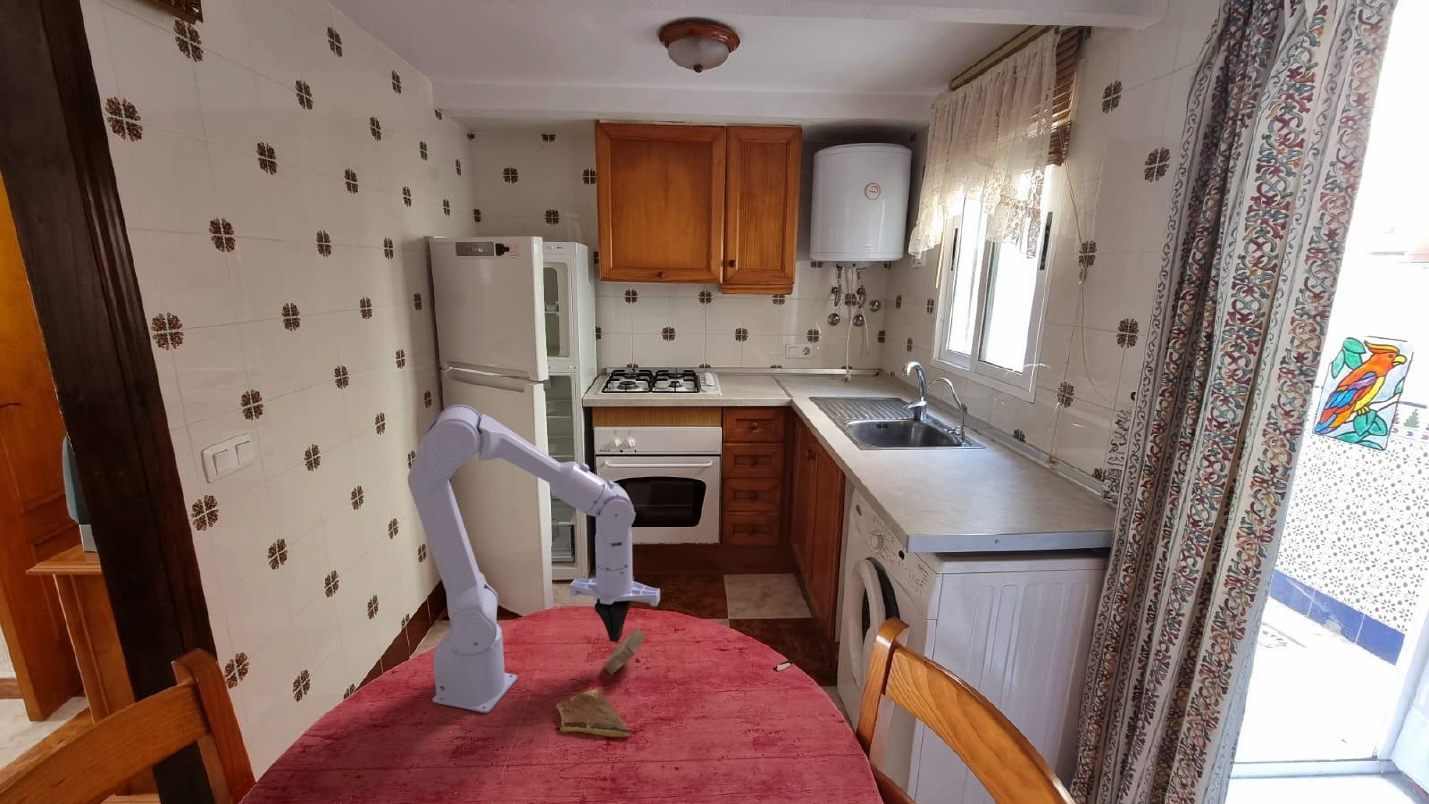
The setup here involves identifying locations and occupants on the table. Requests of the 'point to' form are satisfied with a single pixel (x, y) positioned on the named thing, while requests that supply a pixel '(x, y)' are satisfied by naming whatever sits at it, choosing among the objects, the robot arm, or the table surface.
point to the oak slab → (624, 651)
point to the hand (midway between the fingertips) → (615, 638)
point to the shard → (591, 715)
